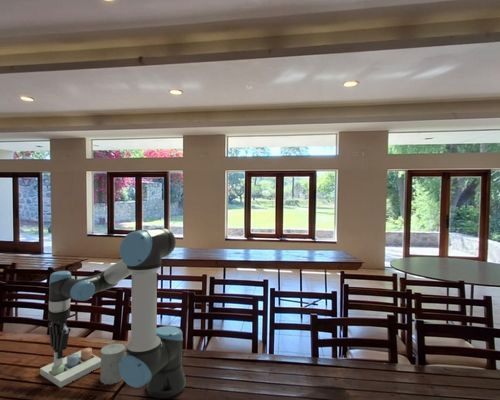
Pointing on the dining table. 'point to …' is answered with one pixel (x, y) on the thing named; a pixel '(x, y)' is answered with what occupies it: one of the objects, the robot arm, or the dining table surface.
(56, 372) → the sage button
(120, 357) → the light grey cylinder
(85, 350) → the terracotta button
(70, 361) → the slate button
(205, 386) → the dining table surface
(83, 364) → the panel
